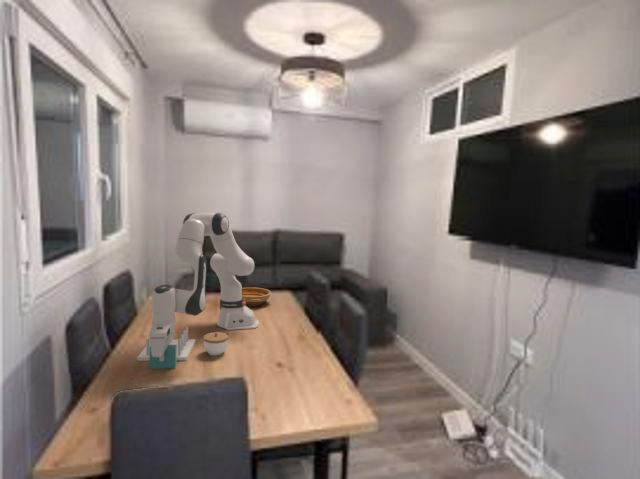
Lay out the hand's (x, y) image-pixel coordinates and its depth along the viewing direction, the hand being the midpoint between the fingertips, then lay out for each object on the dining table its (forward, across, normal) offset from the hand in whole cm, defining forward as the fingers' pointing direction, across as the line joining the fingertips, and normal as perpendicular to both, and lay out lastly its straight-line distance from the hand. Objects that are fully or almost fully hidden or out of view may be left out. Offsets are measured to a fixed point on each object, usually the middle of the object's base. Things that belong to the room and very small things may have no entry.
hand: (163, 358), depth 157 cm
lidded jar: (+4, -14, +19) cm, 24 cm away
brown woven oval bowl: (+4, -92, +32) cm, 97 cm away
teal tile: (+4, 0, 0) cm, 4 cm away
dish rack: (+4, -16, -2) cm, 17 cm away
